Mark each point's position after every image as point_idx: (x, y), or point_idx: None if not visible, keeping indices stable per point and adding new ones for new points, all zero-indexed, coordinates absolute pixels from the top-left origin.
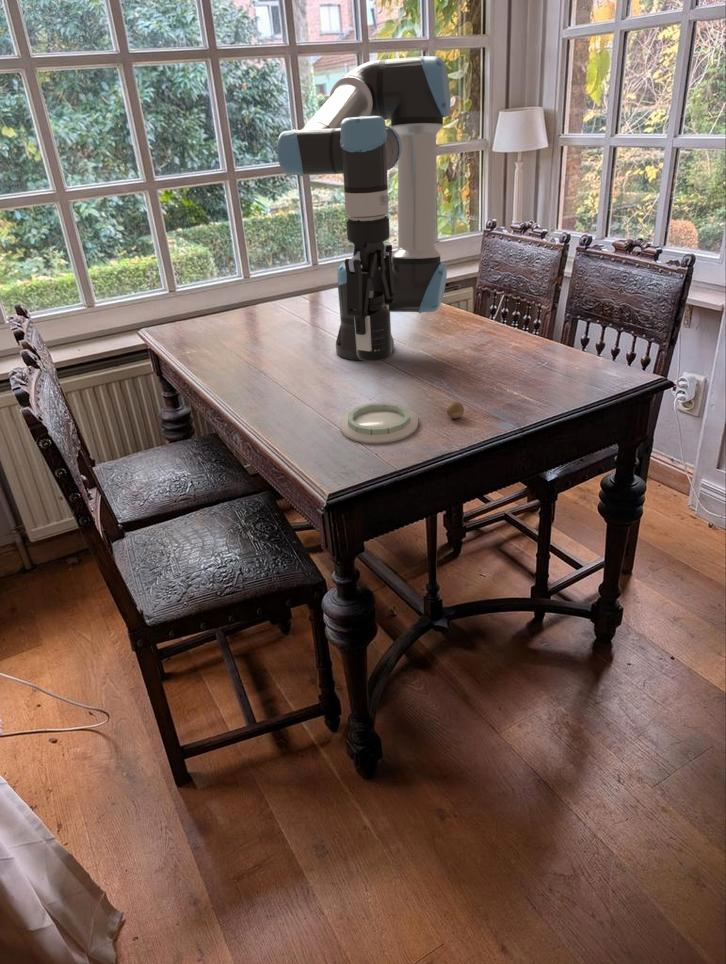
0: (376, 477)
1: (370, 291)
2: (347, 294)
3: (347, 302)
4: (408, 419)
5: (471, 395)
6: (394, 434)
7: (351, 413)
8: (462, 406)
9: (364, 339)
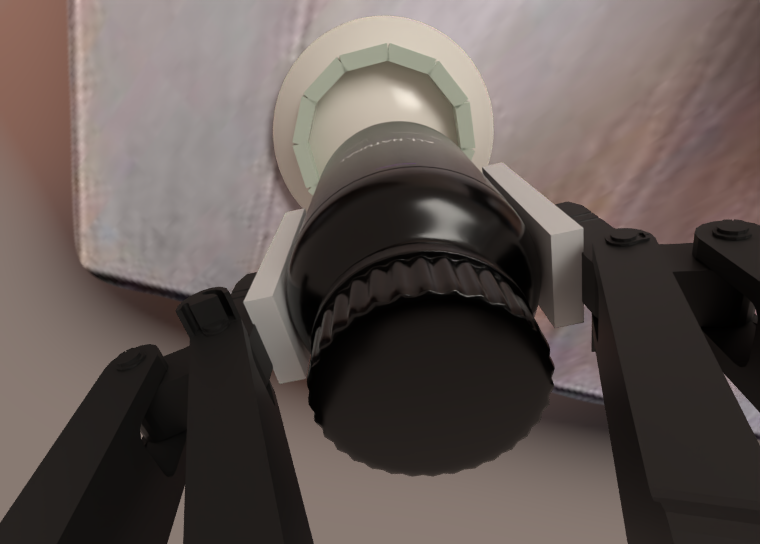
0: None
1: (512, 340)
2: (19, 505)
3: (64, 435)
4: None
5: (657, 224)
6: None
7: (346, 65)
8: None
9: None
